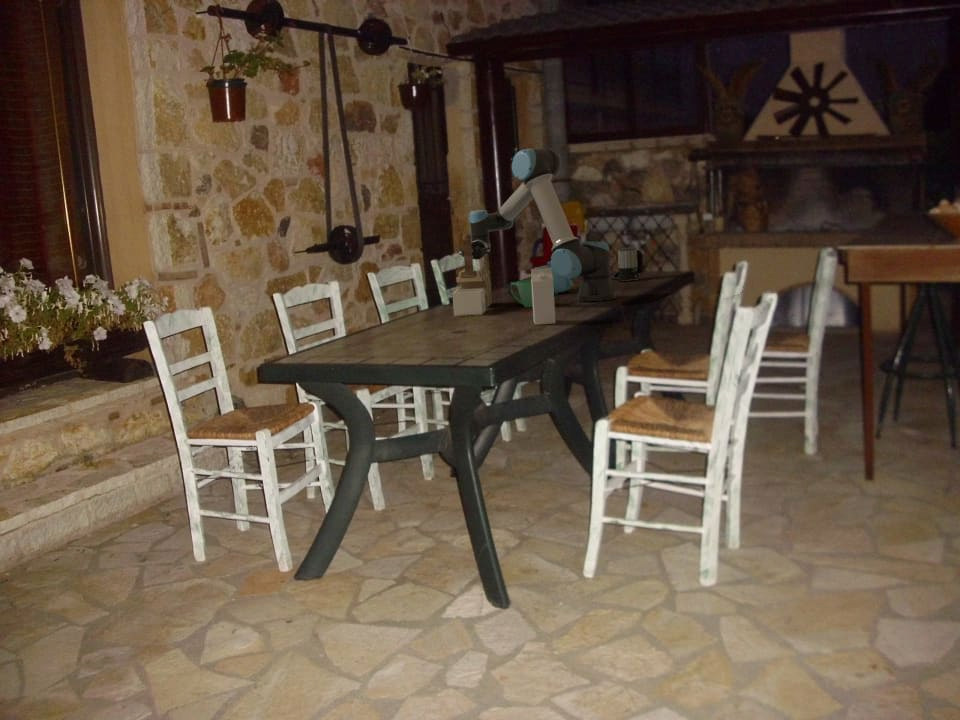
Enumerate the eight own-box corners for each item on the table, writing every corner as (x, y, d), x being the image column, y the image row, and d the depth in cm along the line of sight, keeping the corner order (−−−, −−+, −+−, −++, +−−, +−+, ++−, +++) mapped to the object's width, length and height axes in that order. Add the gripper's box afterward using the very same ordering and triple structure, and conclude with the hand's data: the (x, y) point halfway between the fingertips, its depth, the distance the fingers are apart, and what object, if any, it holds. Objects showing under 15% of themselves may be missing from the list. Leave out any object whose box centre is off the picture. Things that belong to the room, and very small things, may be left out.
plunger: (463, 276, 374) (460, 233, 371) (476, 275, 373) (473, 232, 370) (461, 277, 370) (458, 234, 367) (475, 276, 369) (472, 233, 366)
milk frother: (634, 282, 430) (632, 249, 428) (601, 282, 439) (600, 249, 436) (645, 278, 442) (644, 245, 439) (614, 278, 450) (612, 246, 448)
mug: (547, 304, 378) (546, 279, 376) (534, 308, 370) (532, 282, 369) (517, 303, 387) (515, 279, 385) (503, 307, 379) (501, 282, 377)
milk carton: (533, 322, 338) (530, 268, 334) (553, 320, 338) (550, 266, 334) (535, 325, 331) (531, 270, 327) (555, 323, 331) (552, 268, 327)
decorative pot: (536, 297, 405) (535, 264, 402) (530, 292, 420) (528, 261, 418) (574, 293, 406) (573, 261, 403) (567, 289, 422) (565, 258, 419)
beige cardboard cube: (458, 312, 376) (457, 289, 374) (485, 310, 374) (484, 287, 372) (454, 316, 365) (452, 293, 363) (482, 315, 363) (480, 291, 362)
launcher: (467, 304, 395) (464, 267, 392) (491, 303, 394) (488, 265, 391) (458, 312, 374) (455, 273, 371) (484, 311, 372) (481, 271, 369)
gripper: (493, 257, 395) (485, 263, 372) (462, 259, 397) (452, 265, 374) (492, 239, 393) (484, 244, 370) (461, 241, 395) (451, 246, 372)
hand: (468, 255), depth 372 cm, fingers closed
